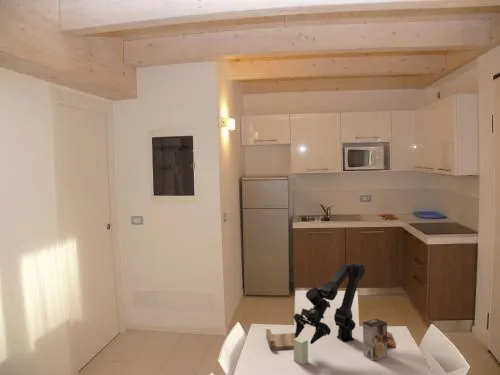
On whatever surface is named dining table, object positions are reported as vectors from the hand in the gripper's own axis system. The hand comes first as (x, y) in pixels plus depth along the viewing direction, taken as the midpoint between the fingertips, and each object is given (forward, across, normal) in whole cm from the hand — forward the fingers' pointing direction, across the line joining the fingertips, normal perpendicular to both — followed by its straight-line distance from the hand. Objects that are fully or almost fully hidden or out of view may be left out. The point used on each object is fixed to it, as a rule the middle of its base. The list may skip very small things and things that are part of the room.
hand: (303, 340), depth 177 cm
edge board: (+2, -18, +11) cm, 21 cm away
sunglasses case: (-25, +15, +39) cm, 48 cm away
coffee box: (-13, +20, +26) cm, 35 cm away
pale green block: (+8, 0, +5) cm, 9 cm away
